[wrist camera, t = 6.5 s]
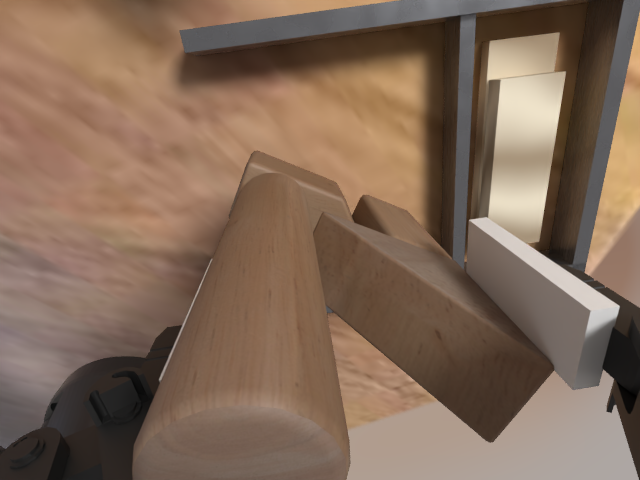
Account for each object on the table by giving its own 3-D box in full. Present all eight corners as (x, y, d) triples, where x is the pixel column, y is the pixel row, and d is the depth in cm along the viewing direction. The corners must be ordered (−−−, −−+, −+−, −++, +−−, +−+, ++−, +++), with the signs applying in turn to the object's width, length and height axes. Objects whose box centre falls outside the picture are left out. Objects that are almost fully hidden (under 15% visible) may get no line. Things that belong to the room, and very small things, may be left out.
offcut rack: (560, 259, 34) (583, 274, 31) (256, 304, 33) (253, 324, 30) (609, -21, 24) (648, -34, 22) (192, 36, 24) (179, 30, 21)
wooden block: (385, 256, 25) (580, 599, 8) (235, 202, 22) (89, 539, 6) (410, 209, 23) (699, 505, 7) (254, 146, 21) (137, 376, 5)
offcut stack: (519, 232, 33) (540, 246, 30) (466, 240, 33) (482, 254, 30) (545, 34, 26) (575, 29, 23) (479, 43, 26) (501, 38, 23)
